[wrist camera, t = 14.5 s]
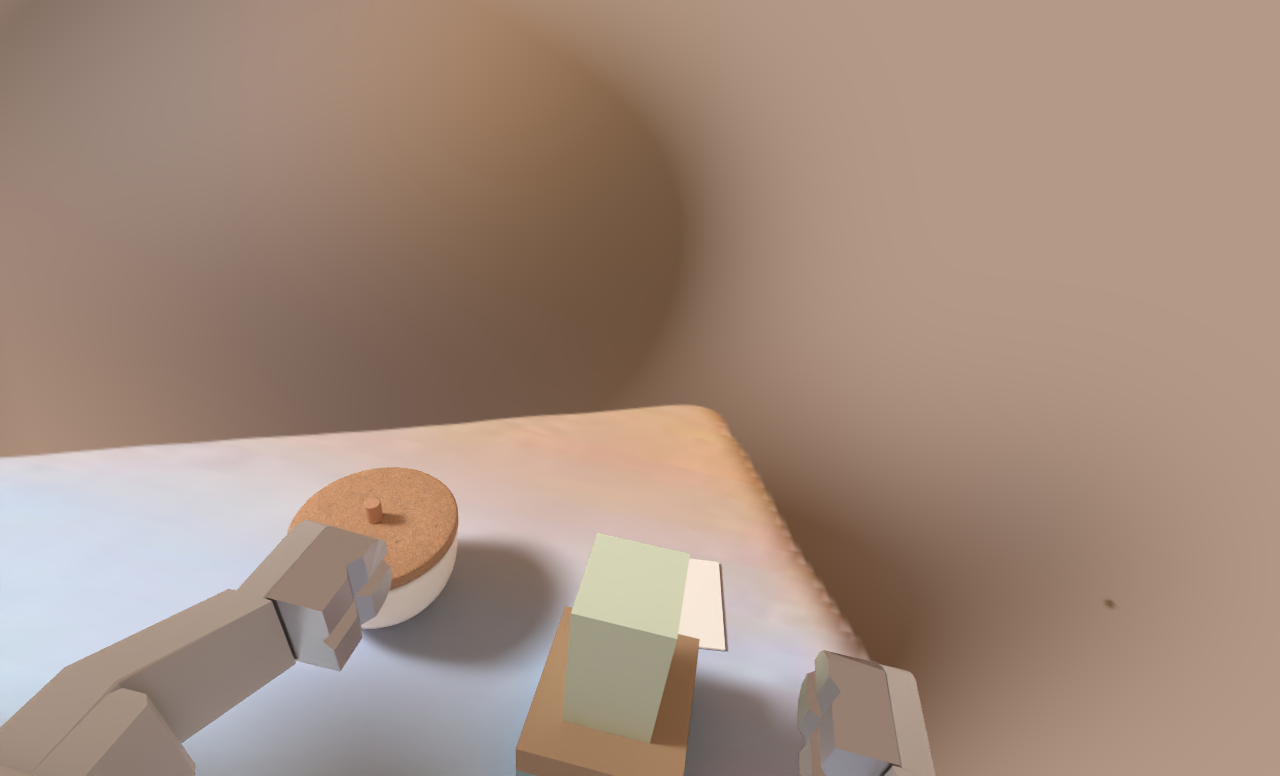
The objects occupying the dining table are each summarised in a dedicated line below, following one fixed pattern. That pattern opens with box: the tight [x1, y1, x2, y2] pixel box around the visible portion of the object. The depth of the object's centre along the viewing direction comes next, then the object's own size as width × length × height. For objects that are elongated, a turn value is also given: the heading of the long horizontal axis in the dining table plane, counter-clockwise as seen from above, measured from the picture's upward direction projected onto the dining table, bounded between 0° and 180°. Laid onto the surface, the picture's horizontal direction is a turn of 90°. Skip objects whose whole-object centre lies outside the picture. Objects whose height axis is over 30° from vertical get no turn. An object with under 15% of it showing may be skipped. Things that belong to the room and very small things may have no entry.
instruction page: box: [678, 559, 725, 651], centre depth 46 cm, size 10×8×1 cm
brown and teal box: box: [516, 606, 700, 776], centre depth 36 cm, size 9×9×6 cm
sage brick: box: [562, 533, 690, 744], centre depth 32 cm, size 5×5×10 cm
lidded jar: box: [288, 468, 458, 629], centre depth 42 cm, size 11×11×9 cm
